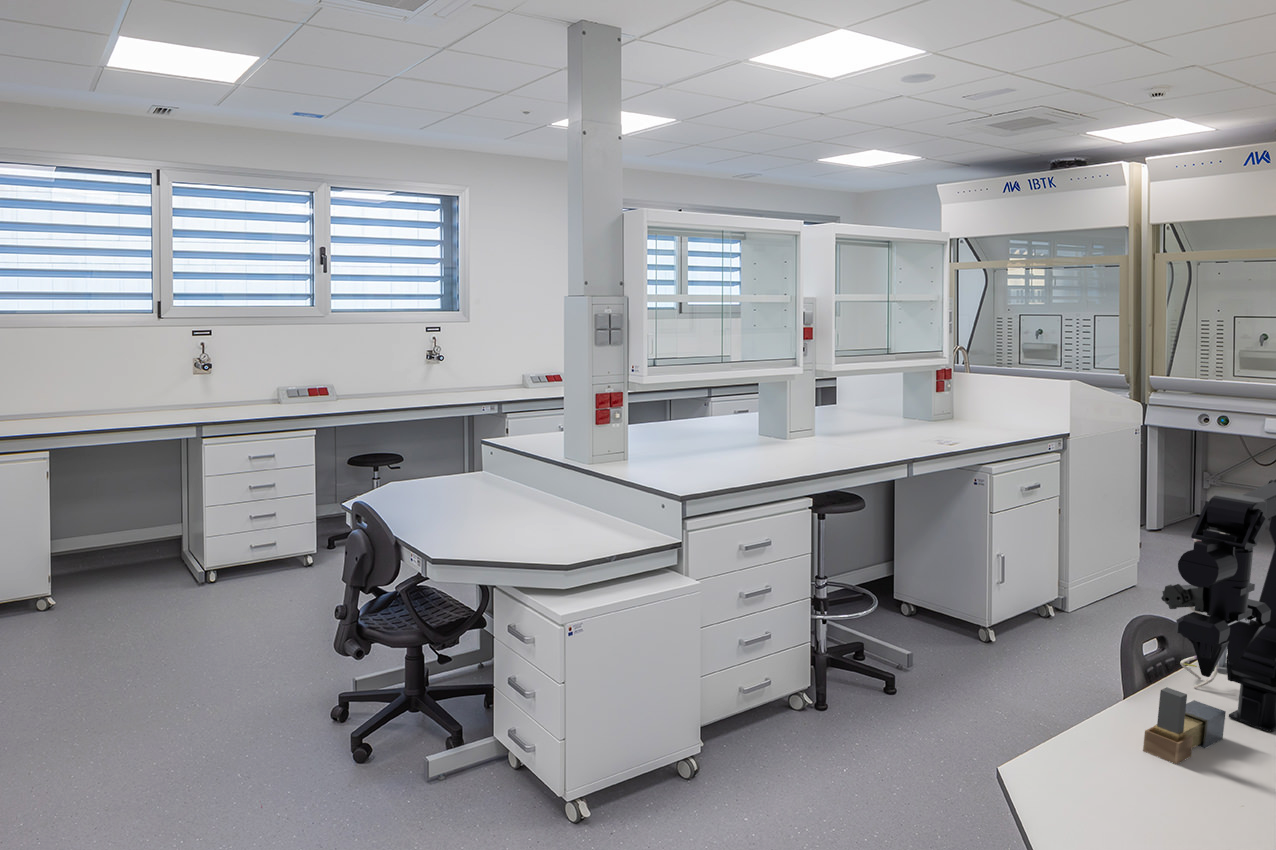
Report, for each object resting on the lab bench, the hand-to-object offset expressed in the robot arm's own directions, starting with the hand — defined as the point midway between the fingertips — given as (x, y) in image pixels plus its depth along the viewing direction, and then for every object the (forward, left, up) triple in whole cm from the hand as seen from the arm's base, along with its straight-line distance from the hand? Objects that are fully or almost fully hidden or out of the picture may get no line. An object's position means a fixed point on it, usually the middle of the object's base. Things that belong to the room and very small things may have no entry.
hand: (1219, 669), depth 138 cm
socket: (+10, -2, -13) cm, 16 cm away
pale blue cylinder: (-36, -14, -13) cm, 41 cm away
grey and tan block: (+6, -2, -12) cm, 14 cm away
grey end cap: (0, -2, -13) cm, 13 cm away
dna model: (-24, -13, -13) cm, 30 cm away
